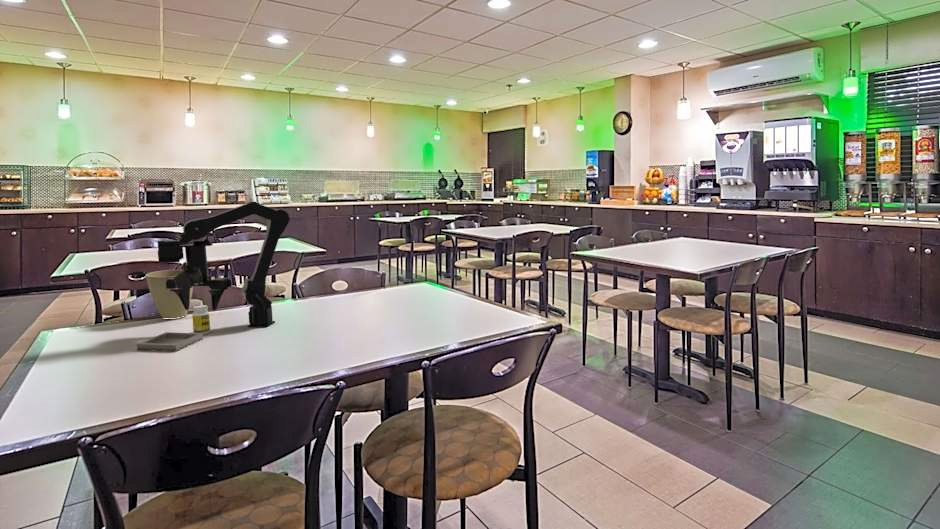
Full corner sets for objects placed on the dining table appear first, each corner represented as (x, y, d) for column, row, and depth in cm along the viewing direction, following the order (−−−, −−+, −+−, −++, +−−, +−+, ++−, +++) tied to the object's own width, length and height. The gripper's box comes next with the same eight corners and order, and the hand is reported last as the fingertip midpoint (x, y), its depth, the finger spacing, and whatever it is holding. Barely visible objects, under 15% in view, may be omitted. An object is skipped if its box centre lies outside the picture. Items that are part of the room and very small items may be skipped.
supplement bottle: (203, 335, 166) (201, 308, 164) (190, 334, 167) (188, 308, 165) (213, 331, 170) (211, 305, 169) (200, 330, 171) (198, 304, 170)
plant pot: (143, 318, 187) (138, 273, 185) (187, 310, 198) (184, 268, 196) (159, 325, 178) (155, 278, 175) (205, 316, 189) (201, 272, 186)
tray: (203, 339, 161) (202, 333, 161) (176, 351, 149) (175, 345, 149) (166, 338, 162) (166, 332, 162) (137, 350, 151) (136, 343, 150)
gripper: (150, 264, 158) (155, 315, 161) (208, 265, 156) (212, 317, 158) (175, 259, 169) (179, 307, 172) (230, 259, 167) (234, 308, 169)
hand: (200, 310), depth 167 cm, fingers open, 9 cm apart
